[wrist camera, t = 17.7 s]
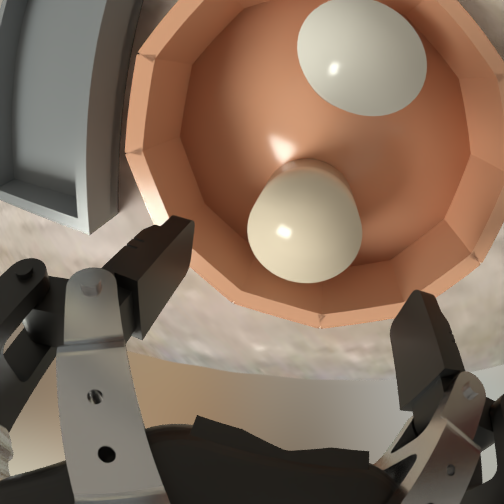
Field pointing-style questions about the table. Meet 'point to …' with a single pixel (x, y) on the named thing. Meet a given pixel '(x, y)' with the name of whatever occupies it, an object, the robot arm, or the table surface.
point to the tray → (63, 106)
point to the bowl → (319, 153)
